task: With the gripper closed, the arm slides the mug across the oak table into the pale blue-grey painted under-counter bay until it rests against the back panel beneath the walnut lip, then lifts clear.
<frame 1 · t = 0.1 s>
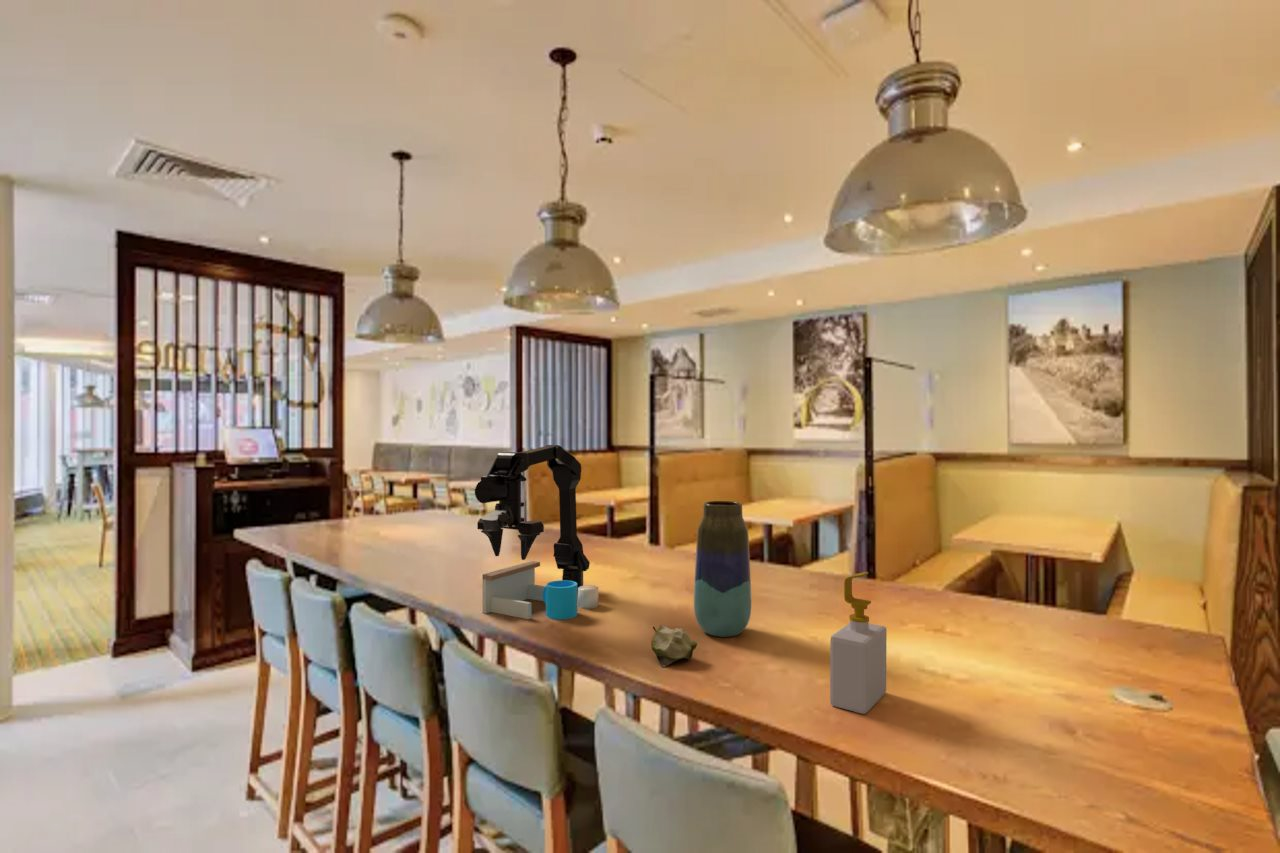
hand: (510, 557, 174), 15 cm above the table, fingers open, 9 cm apart
fruit: (672, 660, 141), on the table
cream rounded cylinder: (588, 605, 181), on the table
vase: (722, 632, 159), on the table
soap bottle: (858, 700, 120), on the table
counter bay: (529, 607, 179), on the table
mug: (557, 614, 174), on the table
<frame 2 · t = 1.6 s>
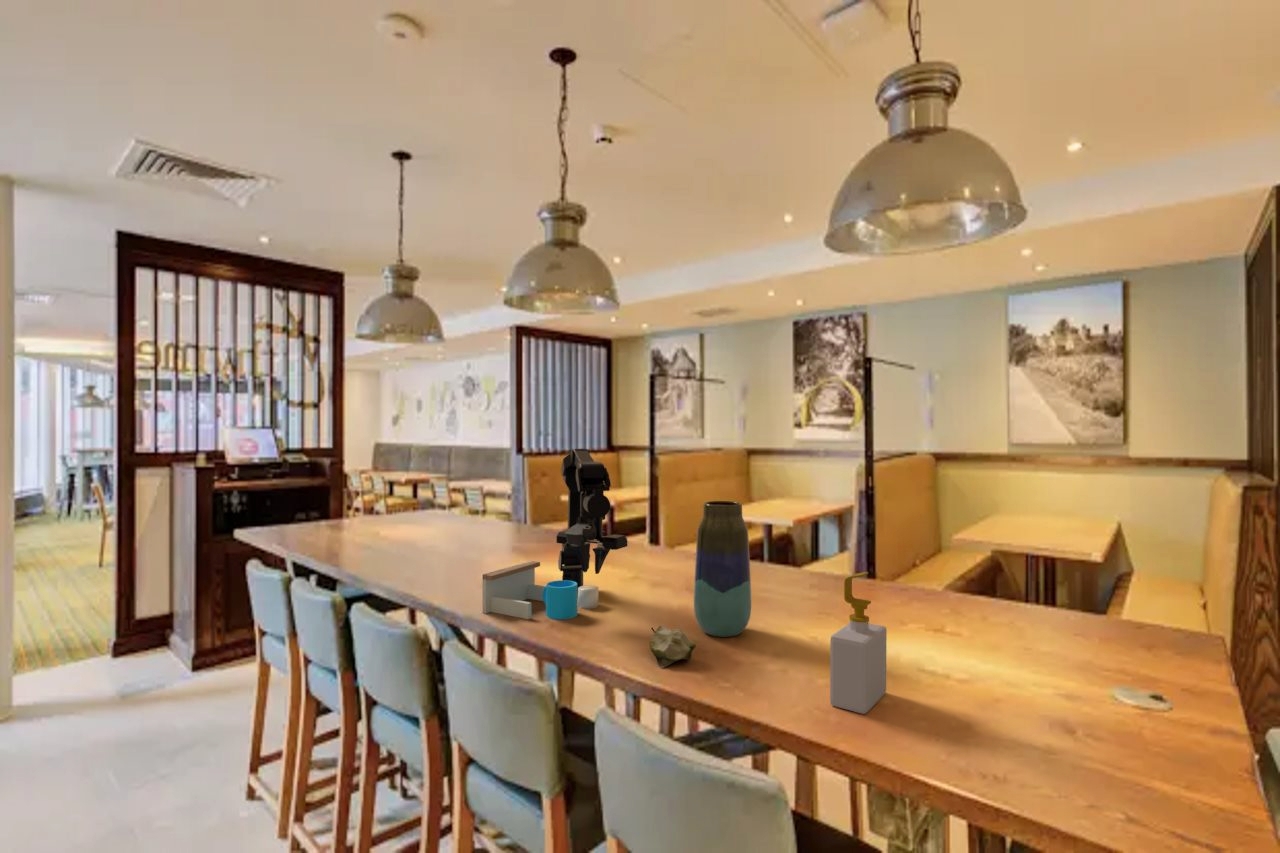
hand: (591, 572, 169), 12 cm above the table, fingers open, 3 cm apart
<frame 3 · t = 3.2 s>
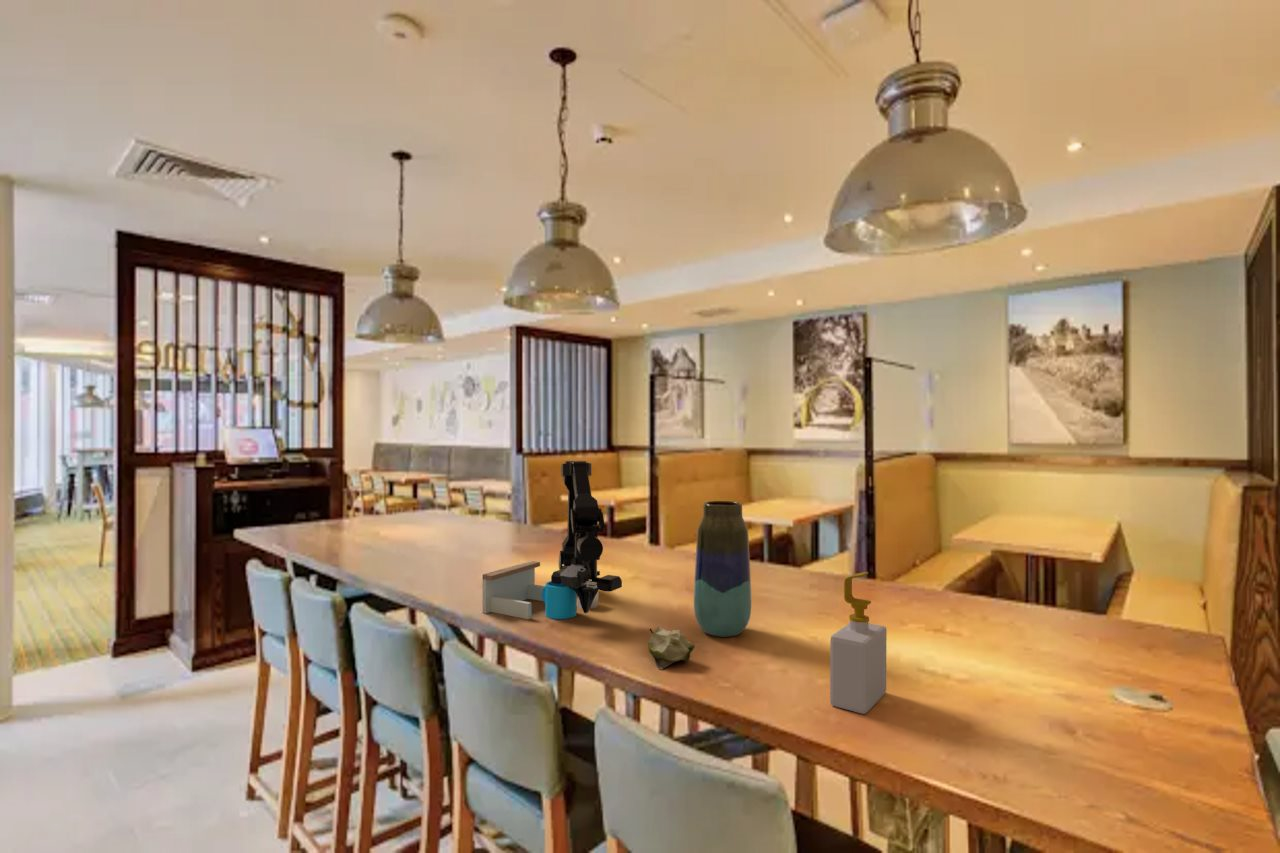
hand: (586, 612, 170), 1 cm above the table, fingers closed
mug: (556, 613, 174), on the table, touching gripper
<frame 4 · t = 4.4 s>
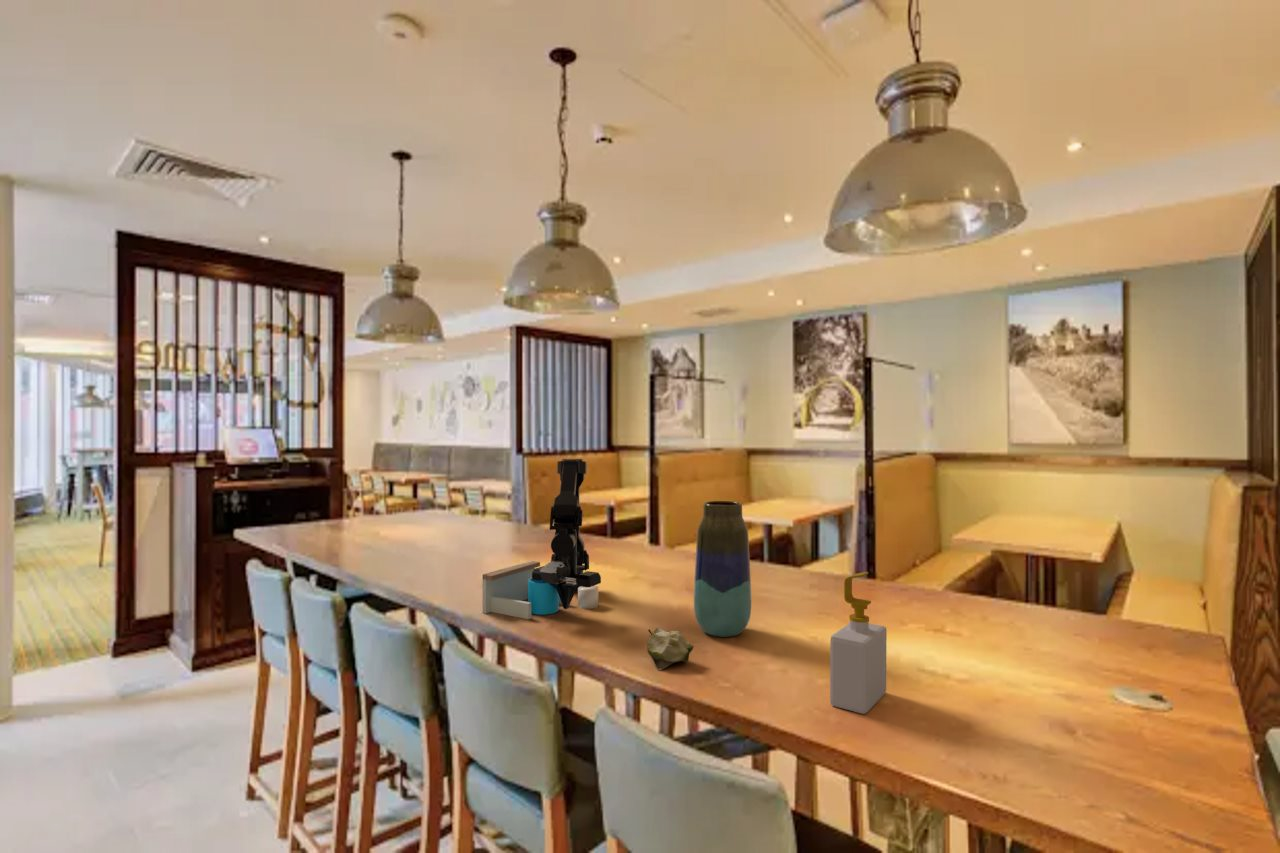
hand: (565, 608, 173), 2 cm above the table, fingers closed
mug: (540, 609, 178), on the table, touching gripper
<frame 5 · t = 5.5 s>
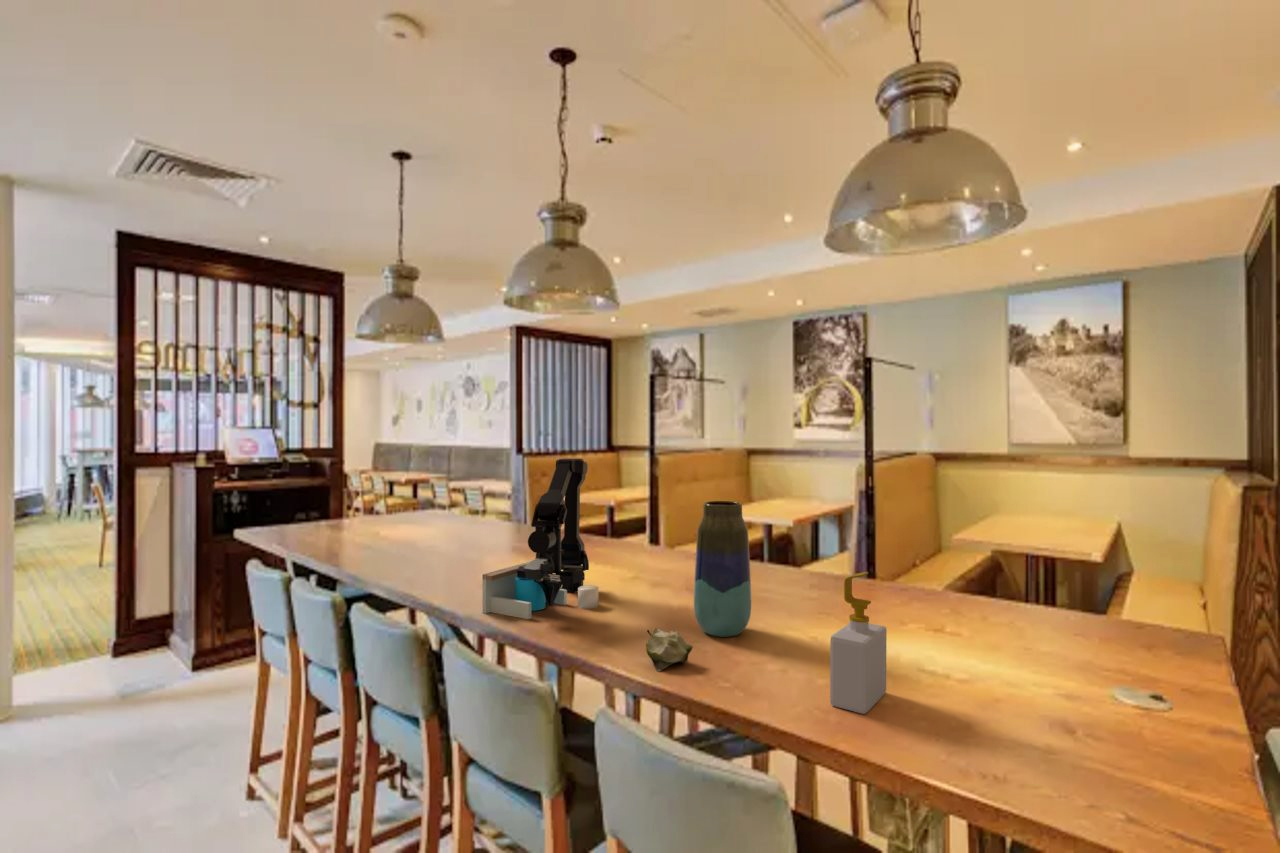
hand: (550, 605, 175), 2 cm above the table, fingers closed
mug: (528, 606, 181), on the table, touching counter bay, gripper
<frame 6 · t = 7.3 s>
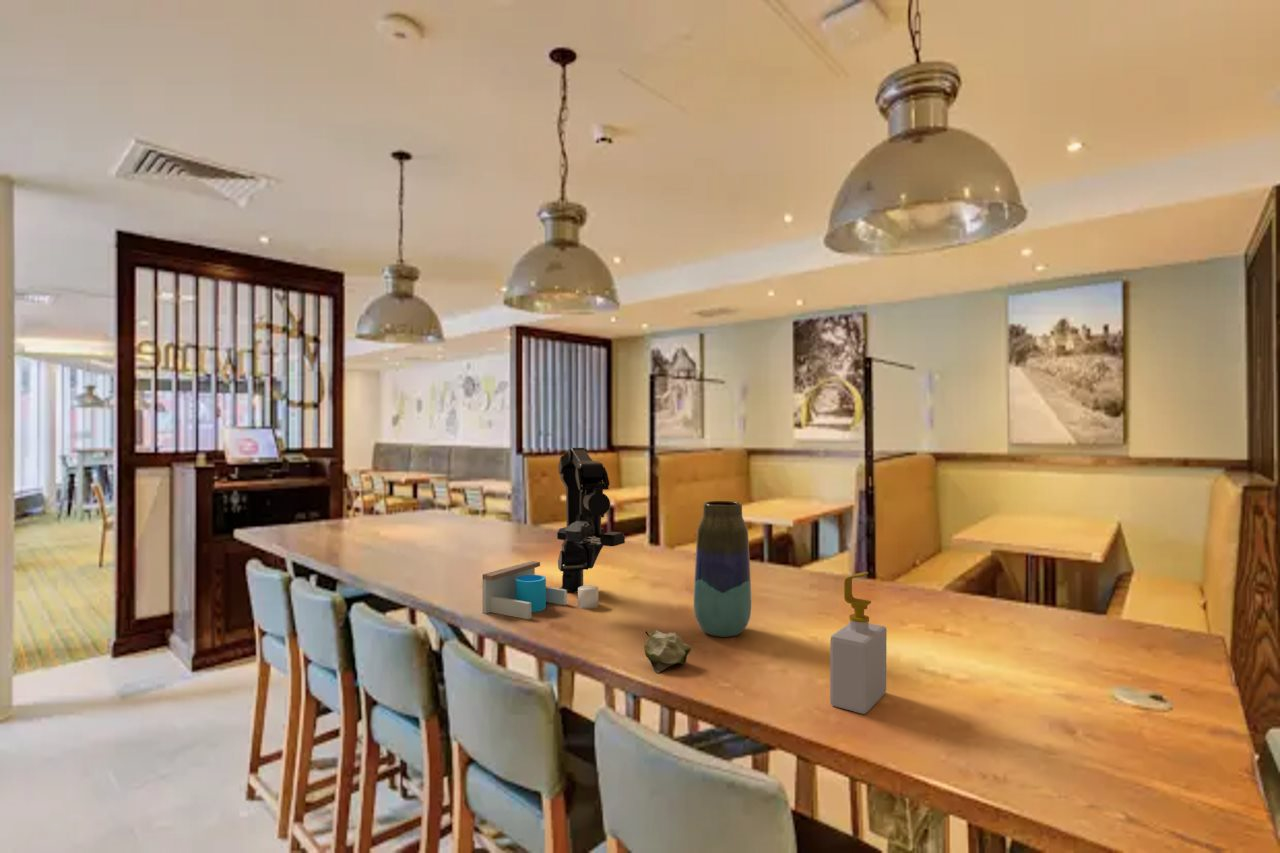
hand: (590, 568, 175), 12 cm above the table, fingers closed
mug: (528, 607, 181), on the table
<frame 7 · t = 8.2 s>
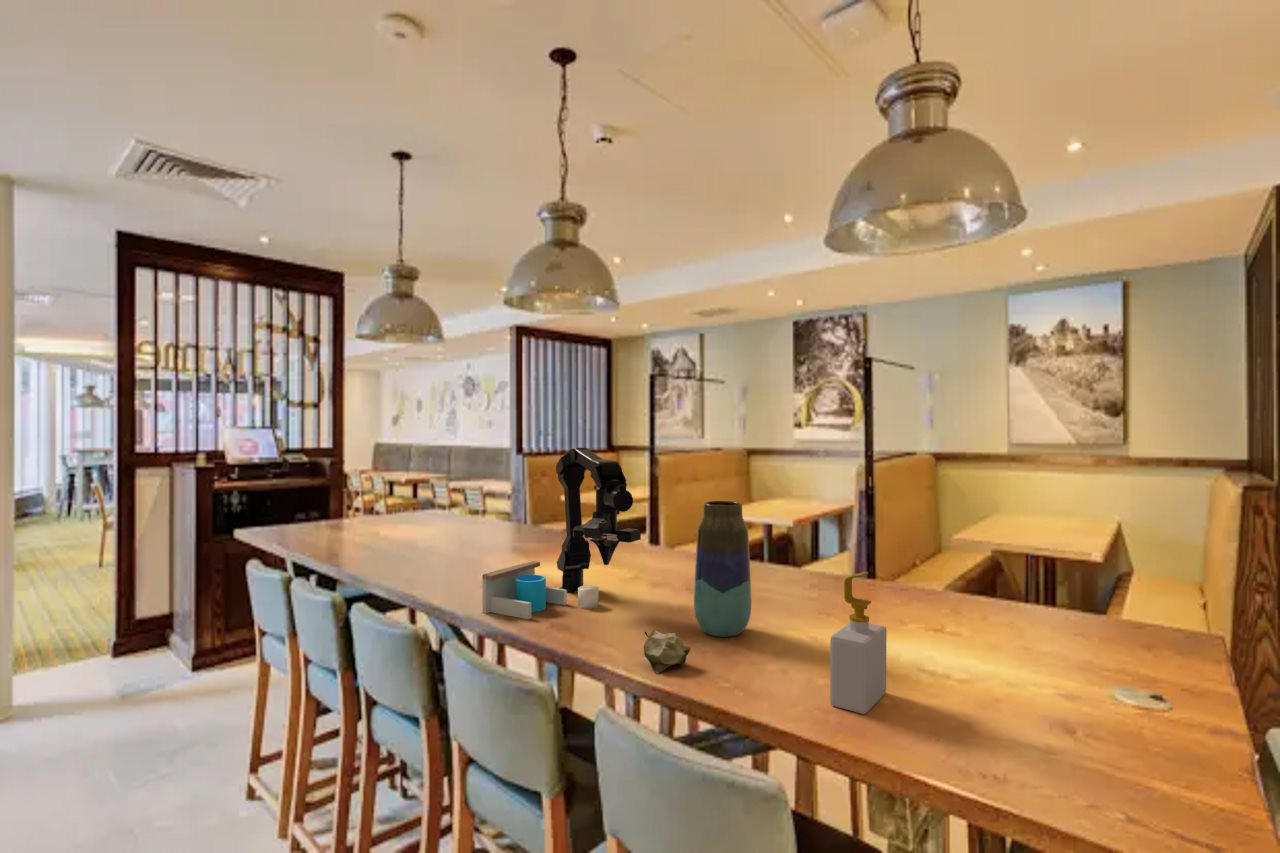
hand: (606, 564, 178), 12 cm above the table, fingers closed
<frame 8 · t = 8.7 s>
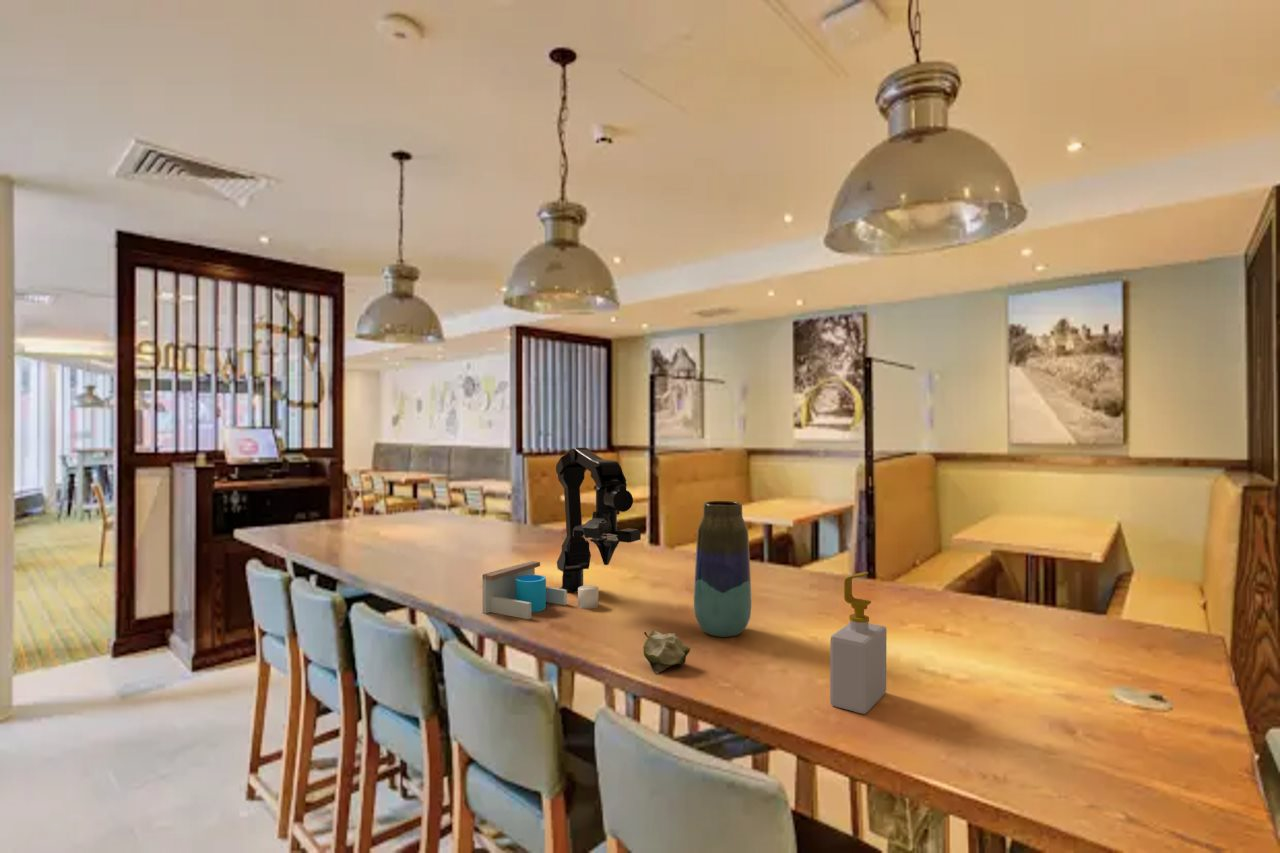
hand: (606, 564, 178), 12 cm above the table, fingers closed
at the end: mug inside the target area on the counter bay (1.4 cm from its centre), point 0.0 cm above the counter bay's base; mug tilted 0° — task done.
